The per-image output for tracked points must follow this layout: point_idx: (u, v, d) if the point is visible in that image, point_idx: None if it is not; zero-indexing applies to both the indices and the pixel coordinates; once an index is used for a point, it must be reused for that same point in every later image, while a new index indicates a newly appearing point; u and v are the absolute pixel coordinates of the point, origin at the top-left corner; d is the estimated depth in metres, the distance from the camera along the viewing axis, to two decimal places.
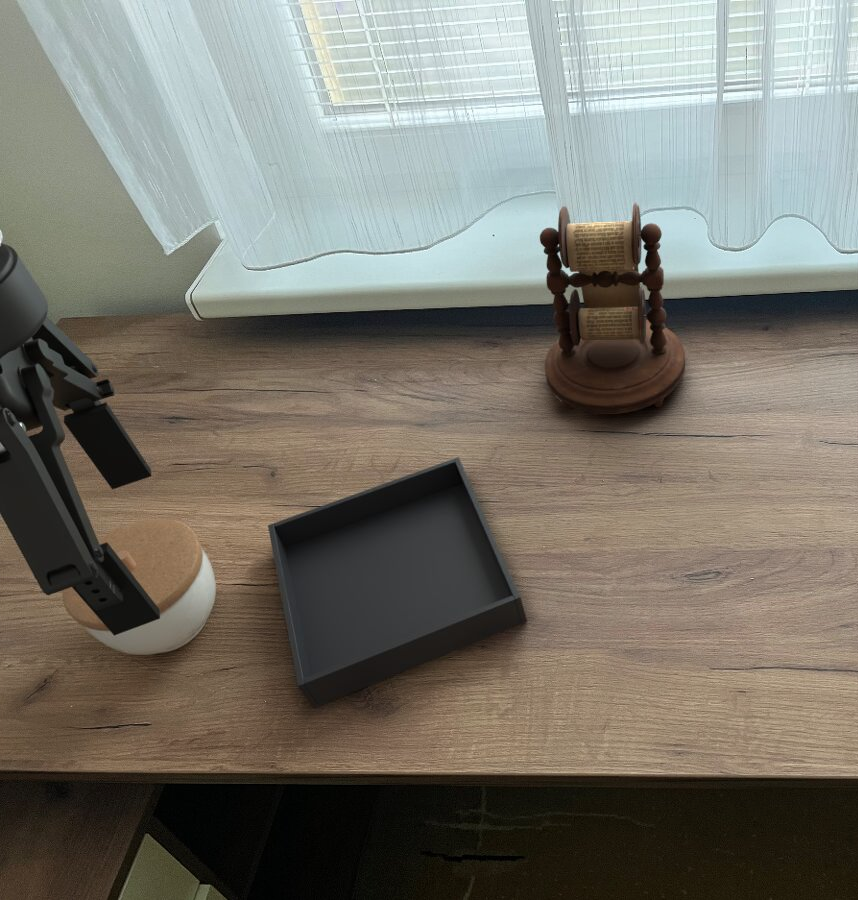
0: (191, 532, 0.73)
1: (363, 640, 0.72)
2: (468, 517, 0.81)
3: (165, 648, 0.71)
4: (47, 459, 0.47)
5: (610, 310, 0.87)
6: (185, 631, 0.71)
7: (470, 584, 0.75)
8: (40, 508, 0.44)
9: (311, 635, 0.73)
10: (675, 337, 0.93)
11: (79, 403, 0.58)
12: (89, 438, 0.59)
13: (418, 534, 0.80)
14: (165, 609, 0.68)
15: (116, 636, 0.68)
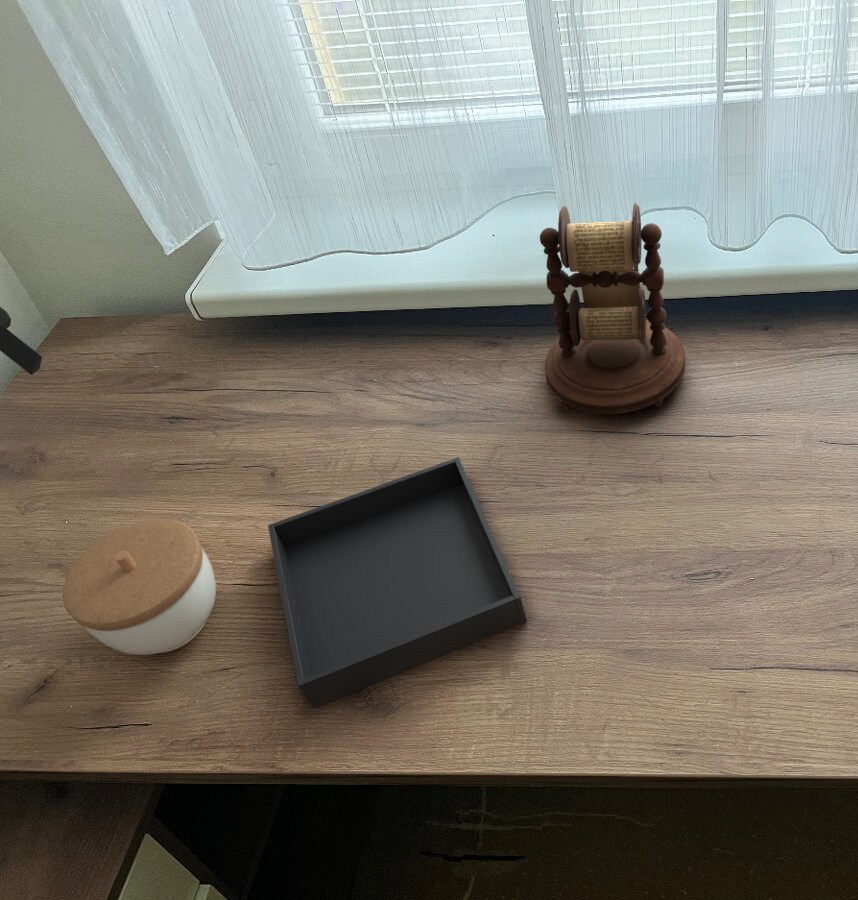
0: (191, 532, 0.73)
1: (363, 640, 0.72)
2: (468, 517, 0.81)
3: (165, 648, 0.71)
4: None
5: (610, 310, 0.87)
6: (185, 631, 0.71)
7: (470, 584, 0.75)
8: None
9: (311, 635, 0.73)
10: (675, 337, 0.93)
11: None
12: None
13: (418, 534, 0.80)
14: (165, 609, 0.68)
15: (116, 636, 0.68)
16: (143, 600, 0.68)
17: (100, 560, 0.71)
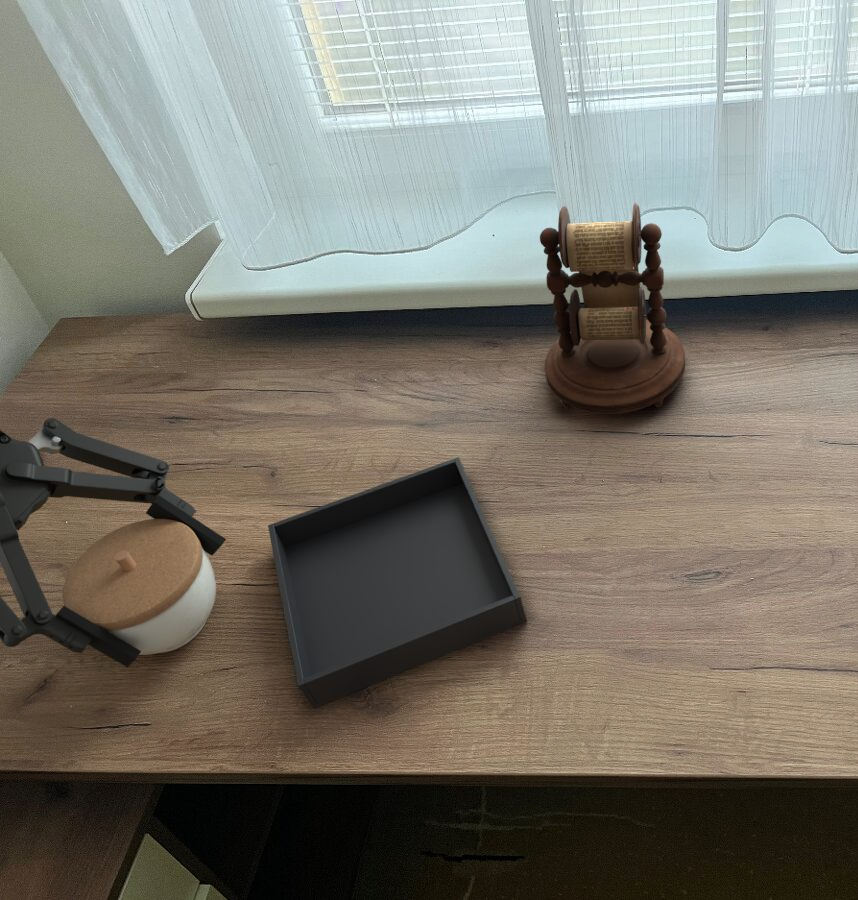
0: (191, 532, 0.73)
1: (363, 640, 0.72)
2: (468, 517, 0.81)
3: (165, 648, 0.71)
4: None
5: (610, 310, 0.87)
6: (185, 631, 0.71)
7: (470, 584, 0.75)
8: None
9: (311, 635, 0.73)
10: (675, 337, 0.93)
11: None
12: None
13: (418, 534, 0.80)
14: (165, 609, 0.68)
15: (116, 636, 0.68)
16: (143, 600, 0.68)
17: (100, 560, 0.71)
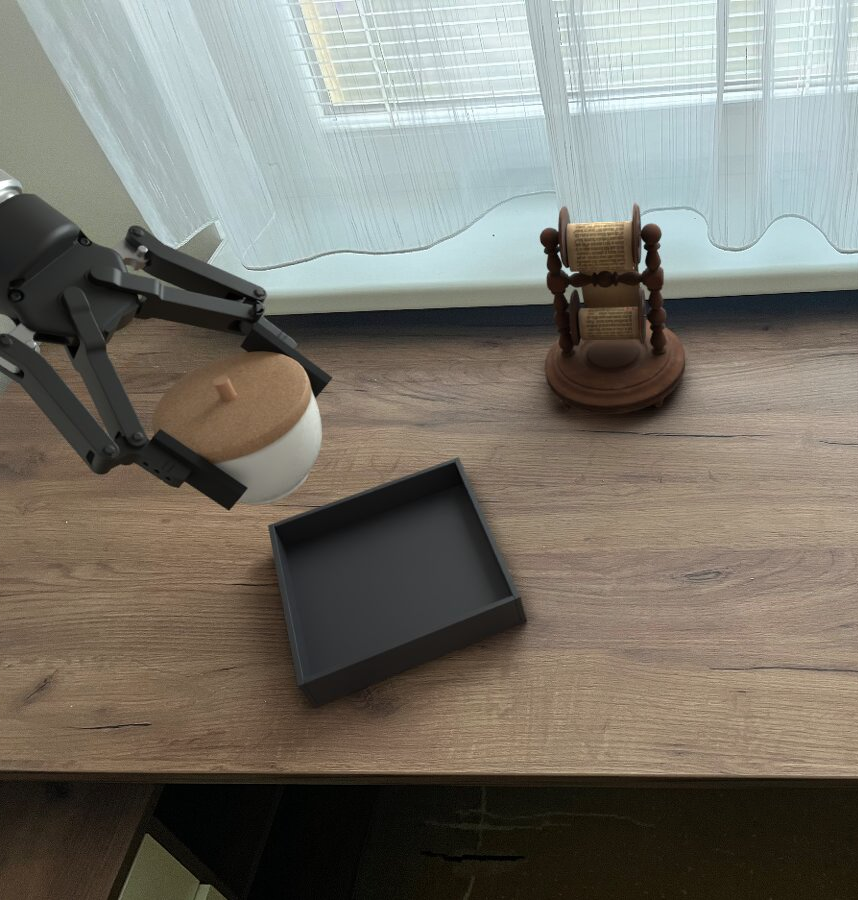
0: (296, 363, 0.63)
1: (363, 640, 0.72)
2: (468, 517, 0.81)
3: (269, 494, 0.61)
4: None
5: (610, 310, 0.87)
6: (292, 474, 0.61)
7: (470, 584, 0.75)
8: None
9: (311, 635, 0.73)
10: (675, 337, 0.93)
11: None
12: None
13: (418, 534, 0.80)
14: (275, 440, 0.58)
15: None
16: (250, 428, 0.58)
17: (193, 391, 0.61)
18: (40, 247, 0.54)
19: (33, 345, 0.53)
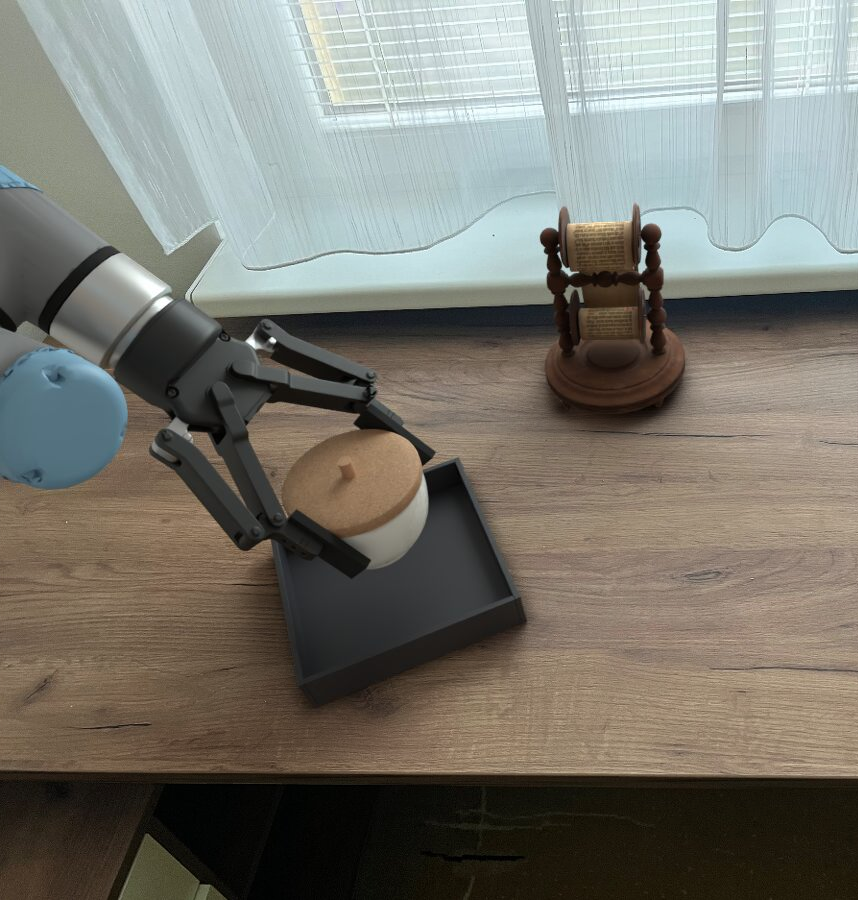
0: (407, 441, 0.69)
1: (363, 640, 0.72)
2: (468, 517, 0.81)
3: (384, 561, 0.68)
4: None
5: (610, 310, 0.87)
6: (406, 544, 0.68)
7: (470, 584, 0.75)
8: None
9: (311, 635, 0.73)
10: (675, 337, 0.93)
11: None
12: None
13: None
14: (394, 516, 0.65)
15: None
16: (374, 506, 0.64)
17: (316, 468, 0.68)
18: (194, 350, 0.60)
19: (189, 438, 0.60)
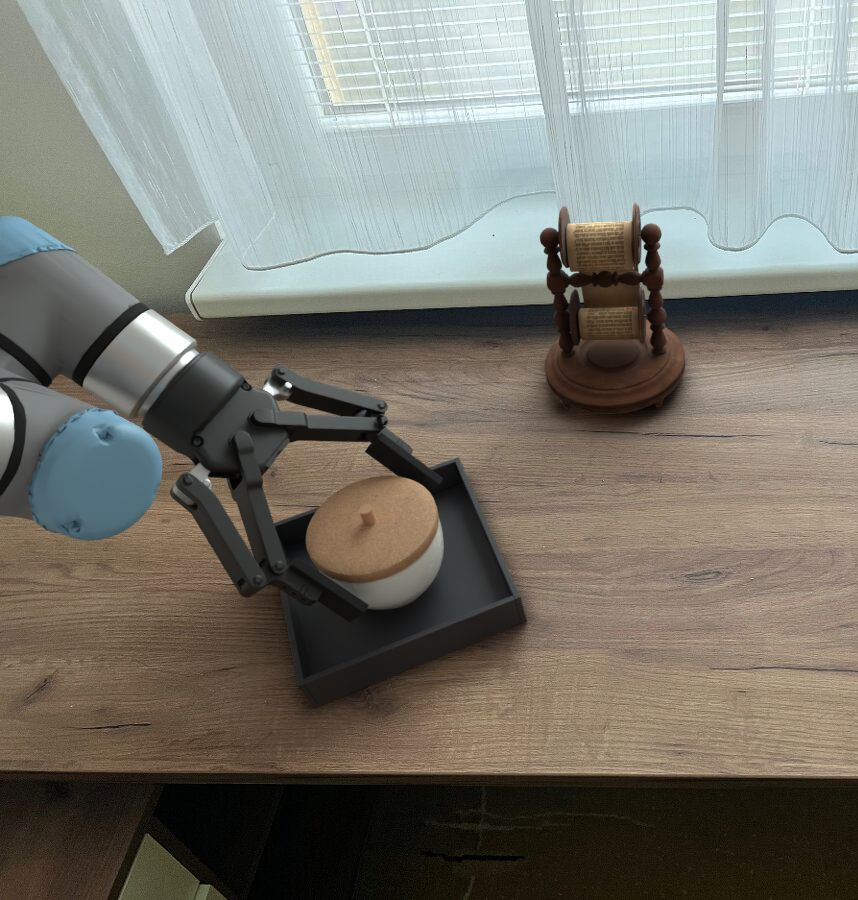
0: (424, 488, 0.73)
1: (363, 640, 0.72)
2: (468, 517, 0.81)
3: (403, 603, 0.72)
4: None
5: (610, 310, 0.87)
6: (423, 586, 0.71)
7: (470, 584, 0.75)
8: None
9: (311, 635, 0.73)
10: (675, 337, 0.93)
11: None
12: None
13: None
14: (413, 561, 0.69)
15: (365, 589, 0.68)
16: (393, 553, 0.68)
17: (338, 515, 0.72)
18: (219, 401, 0.64)
19: (208, 484, 0.63)
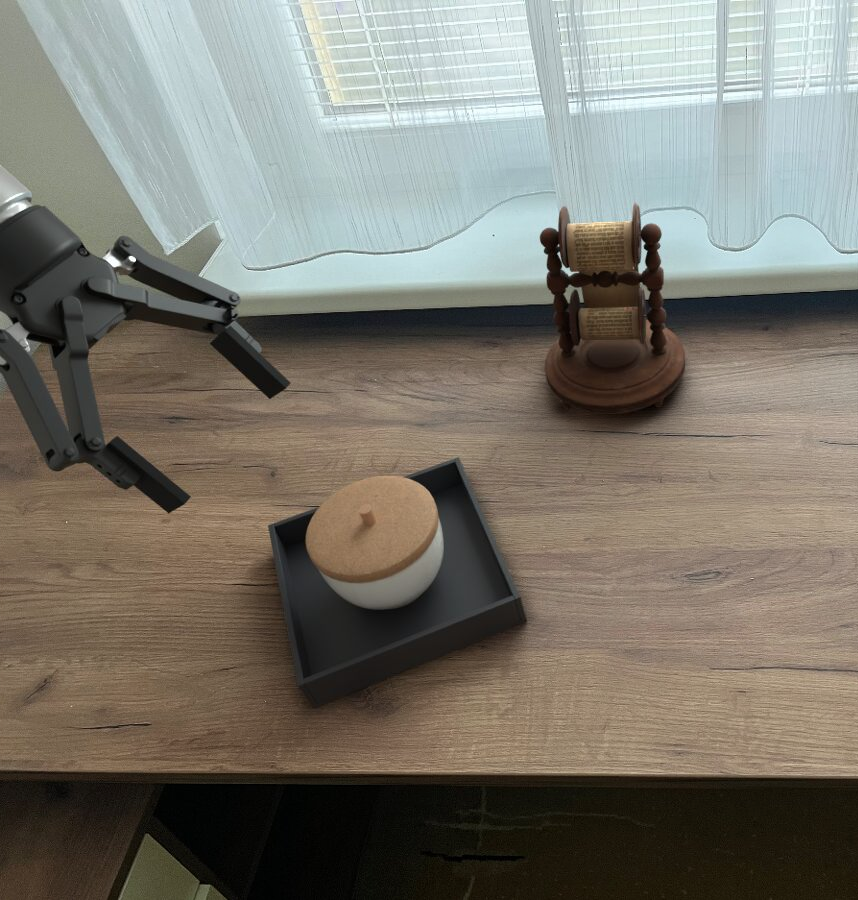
0: (424, 488, 0.73)
1: (363, 640, 0.72)
2: (468, 517, 0.81)
3: (403, 603, 0.72)
4: None
5: (610, 310, 0.87)
6: (423, 586, 0.71)
7: (470, 584, 0.75)
8: None
9: (311, 635, 0.73)
10: (675, 337, 0.93)
11: None
12: None
13: None
14: (413, 561, 0.69)
15: (365, 589, 0.68)
16: (393, 553, 0.68)
17: (338, 515, 0.72)
18: (48, 259, 0.59)
19: (25, 345, 0.59)
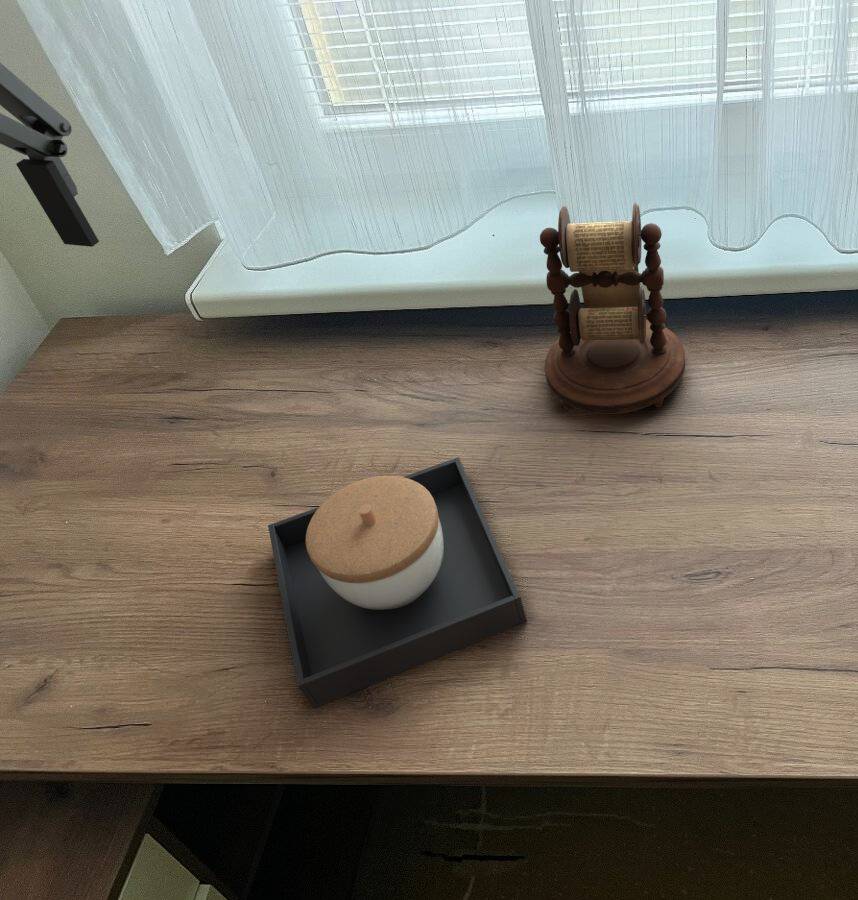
0: (424, 488, 0.73)
1: (363, 640, 0.72)
2: (468, 517, 0.81)
3: (403, 603, 0.72)
4: None
5: (610, 310, 0.87)
6: (423, 586, 0.71)
7: (470, 584, 0.75)
8: None
9: (311, 635, 0.73)
10: (675, 337, 0.93)
11: None
12: None
13: None
14: (413, 561, 0.69)
15: (365, 589, 0.68)
16: (393, 553, 0.68)
17: (338, 515, 0.72)
18: None
19: None
